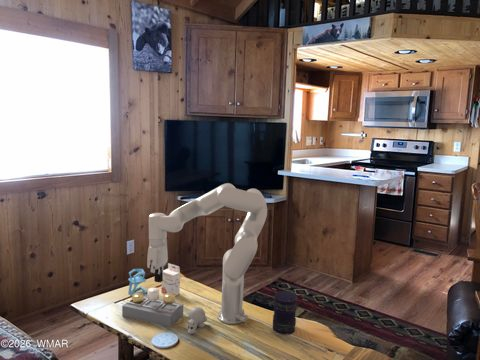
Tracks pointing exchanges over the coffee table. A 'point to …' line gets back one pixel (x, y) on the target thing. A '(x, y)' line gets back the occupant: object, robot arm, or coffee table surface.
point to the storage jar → (284, 312)
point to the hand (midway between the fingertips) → (158, 281)
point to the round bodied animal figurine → (196, 319)
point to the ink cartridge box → (171, 280)
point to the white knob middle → (153, 294)
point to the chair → (136, 281)
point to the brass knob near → (169, 298)
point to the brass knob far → (137, 298)
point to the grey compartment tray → (153, 311)
